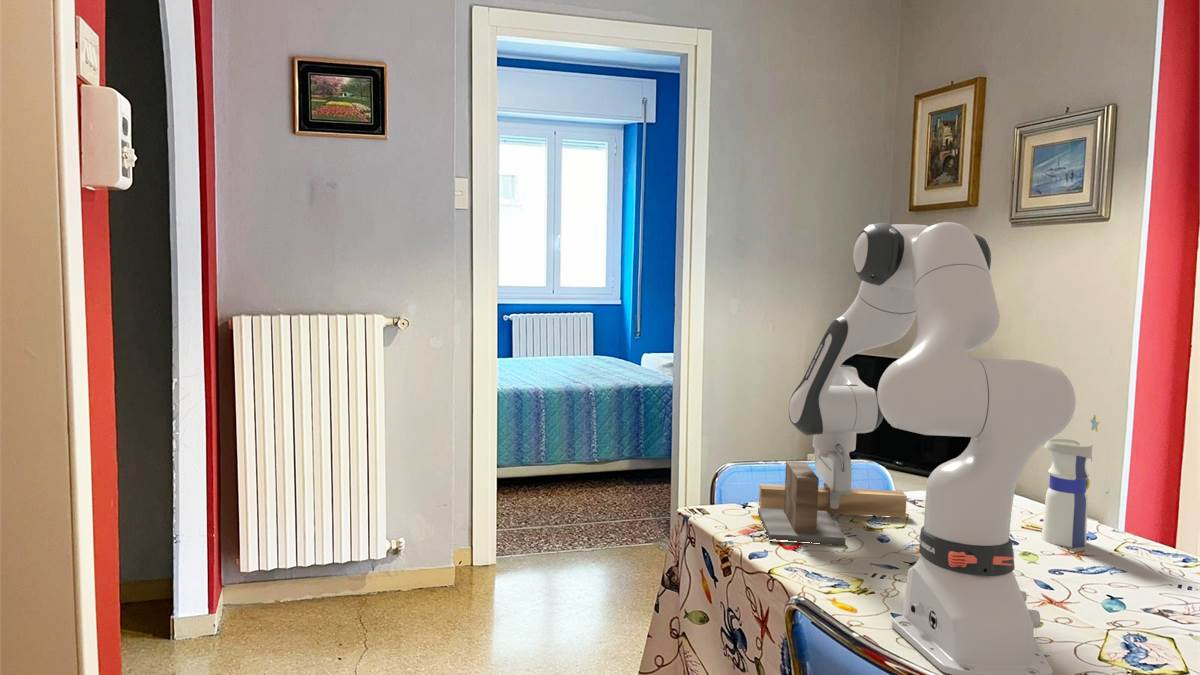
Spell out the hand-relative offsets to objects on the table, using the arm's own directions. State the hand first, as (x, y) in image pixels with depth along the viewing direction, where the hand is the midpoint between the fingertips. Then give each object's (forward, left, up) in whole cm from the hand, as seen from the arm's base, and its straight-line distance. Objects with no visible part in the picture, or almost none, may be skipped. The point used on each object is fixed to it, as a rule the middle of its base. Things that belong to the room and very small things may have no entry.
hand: (831, 504), depth 179 cm
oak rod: (0, 0, -2) cm, 2 cm away
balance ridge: (-14, +9, -2) cm, 17 cm away
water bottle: (-13, -42, -2) cm, 44 cm away
